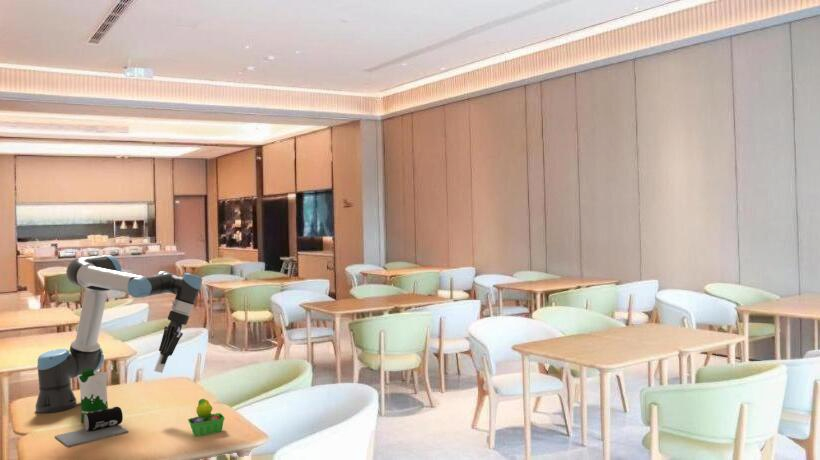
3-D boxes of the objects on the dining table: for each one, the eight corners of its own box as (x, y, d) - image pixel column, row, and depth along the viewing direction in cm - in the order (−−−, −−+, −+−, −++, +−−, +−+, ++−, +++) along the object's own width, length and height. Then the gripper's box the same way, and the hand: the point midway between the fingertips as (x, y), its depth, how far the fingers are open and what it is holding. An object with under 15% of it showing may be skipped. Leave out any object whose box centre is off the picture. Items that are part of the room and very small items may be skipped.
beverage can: (122, 406, 252) (87, 413, 244) (124, 424, 251) (89, 432, 244) (117, 405, 257) (82, 412, 249) (118, 423, 256) (84, 430, 249)
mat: (54, 437, 243) (54, 435, 243) (112, 423, 256) (112, 422, 256) (68, 447, 231) (67, 445, 231) (128, 432, 244) (128, 430, 244)
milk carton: (77, 423, 260) (74, 370, 259) (97, 416, 268) (94, 365, 267) (94, 425, 256) (90, 372, 255) (113, 418, 264) (110, 366, 264)
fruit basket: (192, 438, 233) (190, 406, 233) (187, 432, 241) (185, 400, 241) (226, 432, 239) (224, 400, 238) (220, 425, 247) (218, 394, 246)
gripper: (165, 307, 269) (143, 365, 264) (177, 312, 259) (155, 373, 254) (182, 312, 273) (161, 370, 269) (195, 317, 263) (173, 377, 259)
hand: (158, 371), depth 262 cm, fingers closed
